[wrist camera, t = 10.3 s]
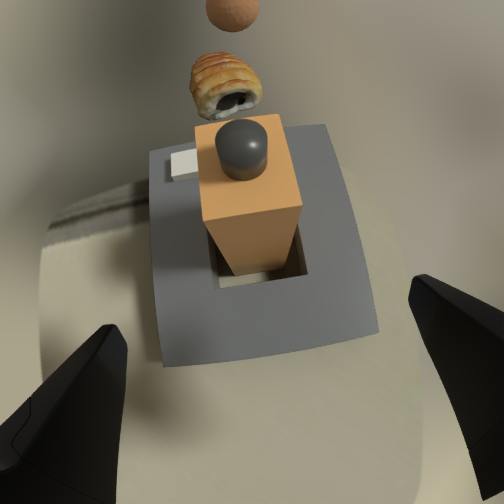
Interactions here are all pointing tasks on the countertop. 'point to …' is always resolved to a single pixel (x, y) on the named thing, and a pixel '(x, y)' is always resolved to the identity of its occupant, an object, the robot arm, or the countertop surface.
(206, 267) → the socket
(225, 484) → the countertop surface
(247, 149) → the plug
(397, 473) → the countertop surface
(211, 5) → the egg
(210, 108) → the pastry
